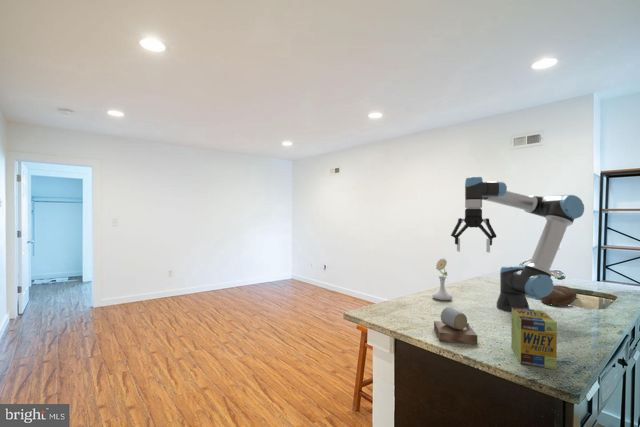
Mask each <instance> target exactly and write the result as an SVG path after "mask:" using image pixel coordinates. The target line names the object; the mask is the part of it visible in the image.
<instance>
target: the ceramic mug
mask: <svg viewBox="0 0 640 427" xmlns="http://www.w3.org/2000/svg"><path fill="white" fill-rule="evenodd" d="M440 313H441V314H440V320H441V321H442V322H443V324H445V325H447V326H450V327H452V328H454V329H457V330H462V329H464V328H465V326H467V327H468V326H469V325H470V323H469V322H468V318H467V316H466V315H465V313H463V312H461V311H459V310H457V309H456V308H453V307H451V306H446V307H444V308H443V309H442V311H441V312H440Z"/></svg>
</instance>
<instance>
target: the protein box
mask: <svg viewBox="0 0 640 427" xmlns="http://www.w3.org/2000/svg"><path fill="white" fill-rule="evenodd" d="M557 324H558V323H557V322H556V321H555V319H553V318H552V317H551V316H549V314H548V313H546V312H545V311H544V310H542V309H541V310H539V309H532V308H529V309H524V308H515V307H512V312H511V332H510V333H511V334H510V335H511V337H510V338H511V340H510V342H511V343H510V344H511V348H512V351H513V353H514V354H515V356H516V358H517V360H518V362H519V364H521V365H525V366H531V367H537V368H538V367H539V368H546V369H549V370H550V369H551V370H557V353H558V352H557V347H558V346H557V341H558V338H557V335H558V331H557V330H558V325H557Z"/></svg>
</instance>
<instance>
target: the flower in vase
mask: <svg viewBox="0 0 640 427" xmlns="http://www.w3.org/2000/svg"><path fill="white" fill-rule="evenodd" d="M446 266H447V260H446V258H440V259H439V260H438V261H437V262H436V265H435V269H436V270H437V271H439V272H440V274H442V275H437V277H438V278H439V282H440V284H439V285H440V287H439V289H438V290H436V291H435V292H433V293H432V298H434V299H436V300H439V301H440V300H441V301H450V300H452V299H453V295H452V294H451V293H450V292H449V291H448V290H447V289H446V286H445V281H446V279H447V277H448V272H447V271H446V269H445V267H446ZM443 271H444V272H443Z"/></svg>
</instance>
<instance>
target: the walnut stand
mask: <svg viewBox="0 0 640 427" xmlns="http://www.w3.org/2000/svg"><path fill="white" fill-rule="evenodd" d="M433 325H434V326H433V330H434V331H435V334H436V336H437V338H438V341H439V342H444V343H445V342H446V343H456V344H471V345H478V334H477V333H476V331H475V330H474V329H473V328H472V326H471V325H470V324H469V326H468V327H467V326H465V328H464V329H462V330H457V329H454V328H452V327H450V326H447V325H445V324H443V322H442V321H439V320H434V321H433Z"/></svg>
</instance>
